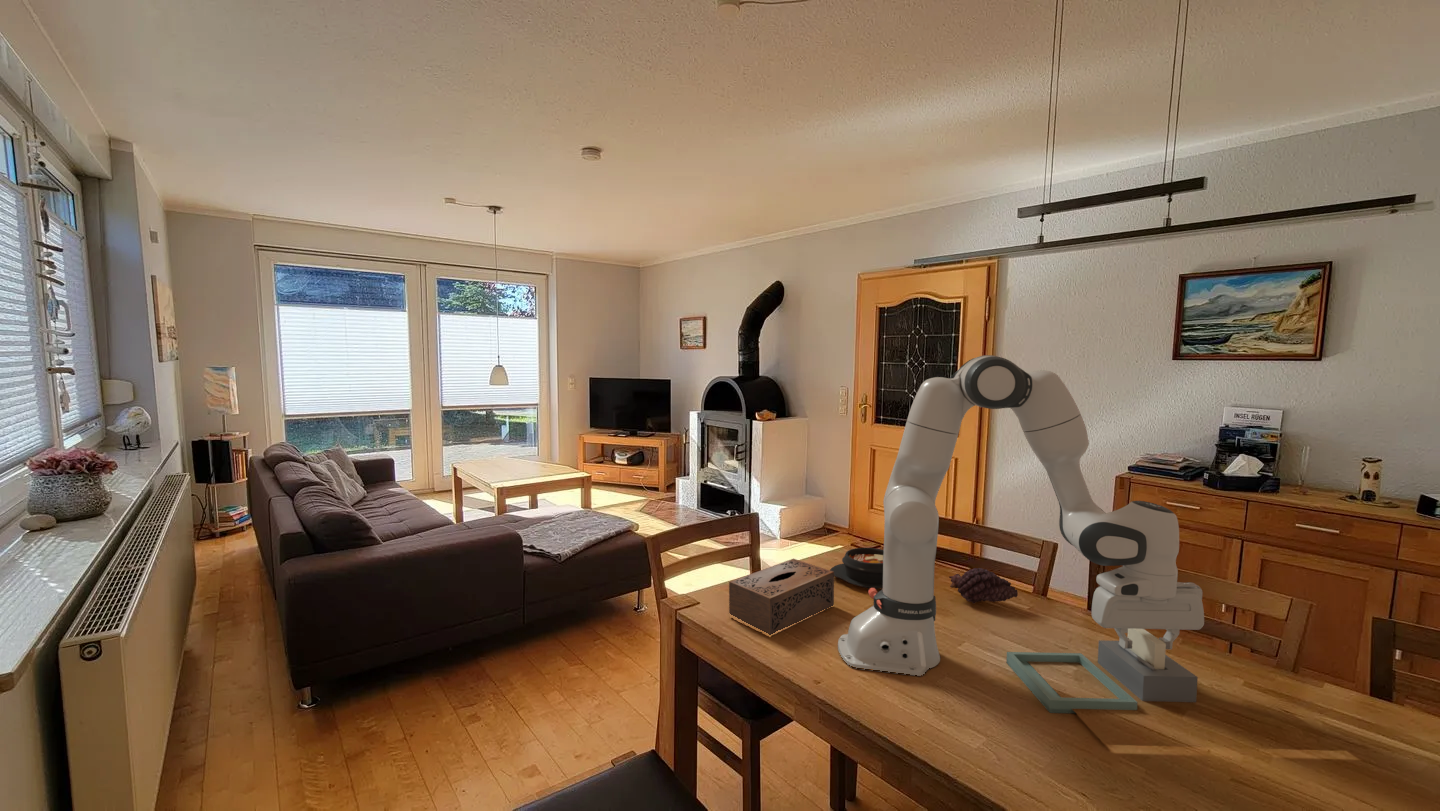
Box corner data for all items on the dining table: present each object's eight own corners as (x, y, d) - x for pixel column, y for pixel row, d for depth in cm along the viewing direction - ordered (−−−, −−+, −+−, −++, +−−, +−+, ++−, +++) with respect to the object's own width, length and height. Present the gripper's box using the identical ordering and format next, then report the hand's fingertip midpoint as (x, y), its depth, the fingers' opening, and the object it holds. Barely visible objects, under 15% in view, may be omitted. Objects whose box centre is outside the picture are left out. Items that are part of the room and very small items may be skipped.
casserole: (819, 583, 171) (820, 556, 170) (842, 564, 186) (842, 540, 186) (903, 602, 157) (903, 572, 157) (920, 580, 173) (920, 553, 172)
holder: (1142, 705, 109) (1143, 672, 109) (1097, 666, 123) (1098, 637, 123) (1195, 706, 109) (1197, 673, 108) (1144, 667, 123) (1146, 638, 122)
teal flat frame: (1049, 712, 107) (1050, 700, 107) (1006, 662, 125) (1006, 651, 125) (1136, 714, 106) (1137, 702, 106) (1080, 664, 124) (1081, 653, 124)
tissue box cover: (793, 591, 165) (793, 558, 165) (833, 607, 155) (834, 571, 154) (729, 618, 148) (729, 581, 147) (769, 638, 137) (769, 598, 137)
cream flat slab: (1152, 692, 112) (1155, 643, 111) (1125, 670, 120) (1128, 624, 119) (1163, 692, 112) (1165, 643, 111) (1135, 670, 120) (1137, 625, 119)
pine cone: (1019, 605, 155) (1020, 569, 154) (1014, 618, 147) (1015, 581, 146) (951, 590, 165) (951, 557, 164) (943, 602, 156) (944, 567, 156)
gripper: (1190, 576, 117) (1186, 641, 118) (1088, 575, 118) (1085, 639, 119) (1215, 588, 111) (1210, 656, 112) (1107, 587, 112) (1104, 654, 113)
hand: (1145, 647), depth 115 cm, fingers open, 6 cm apart
